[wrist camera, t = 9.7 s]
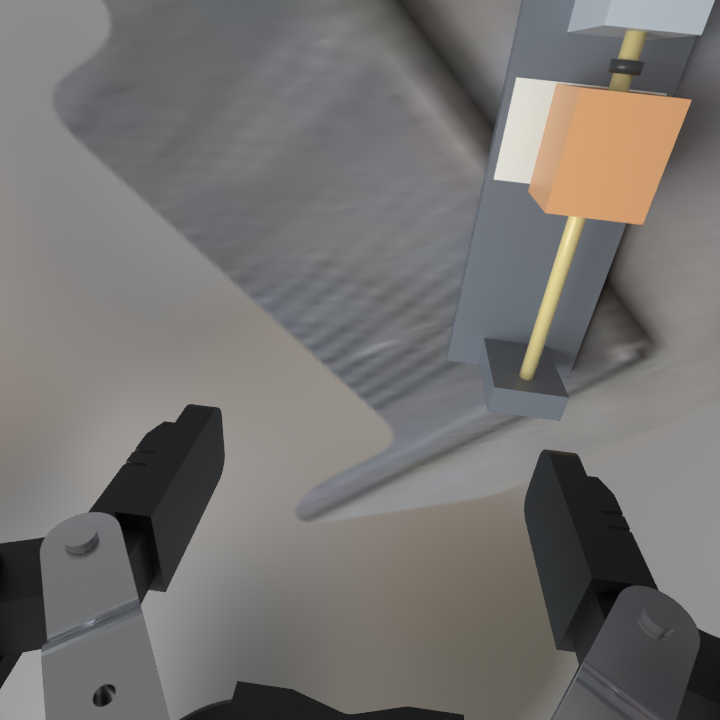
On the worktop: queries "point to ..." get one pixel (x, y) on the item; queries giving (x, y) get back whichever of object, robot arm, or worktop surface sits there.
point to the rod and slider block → (527, 219)
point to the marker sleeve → (605, 152)
